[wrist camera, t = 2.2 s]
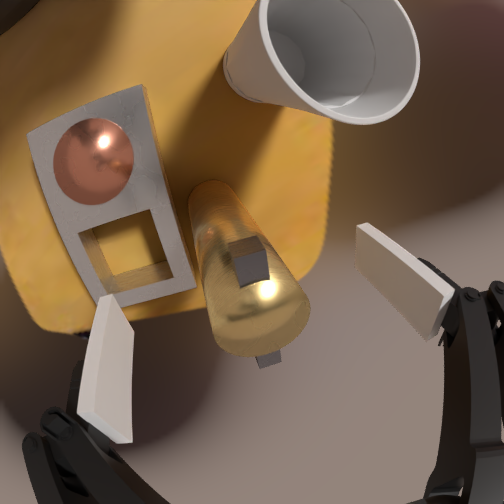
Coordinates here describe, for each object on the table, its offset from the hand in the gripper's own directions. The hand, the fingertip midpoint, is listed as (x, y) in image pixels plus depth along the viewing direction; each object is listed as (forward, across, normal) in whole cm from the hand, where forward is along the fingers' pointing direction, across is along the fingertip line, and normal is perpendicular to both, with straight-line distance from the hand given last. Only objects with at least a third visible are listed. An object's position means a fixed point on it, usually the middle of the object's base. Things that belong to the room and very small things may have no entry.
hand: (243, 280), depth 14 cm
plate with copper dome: (+10, -8, +3) cm, 13 cm away
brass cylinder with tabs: (+10, 0, 0) cm, 11 cm away
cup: (+11, +6, +11) cm, 16 cm away
